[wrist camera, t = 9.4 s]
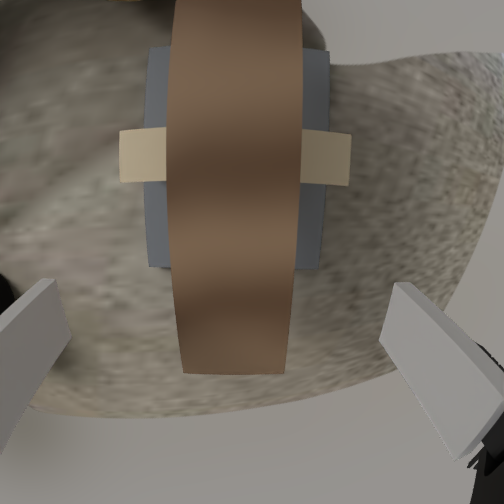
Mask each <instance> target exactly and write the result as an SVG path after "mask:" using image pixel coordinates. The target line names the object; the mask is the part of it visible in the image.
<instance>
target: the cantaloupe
mask: <svg viewBox="0 0 504 504" xmlns="http://www.w3.org/2000/svg"><path fill="white" fill-rule="evenodd" d="M109 1H141V0H109Z"/></svg>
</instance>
